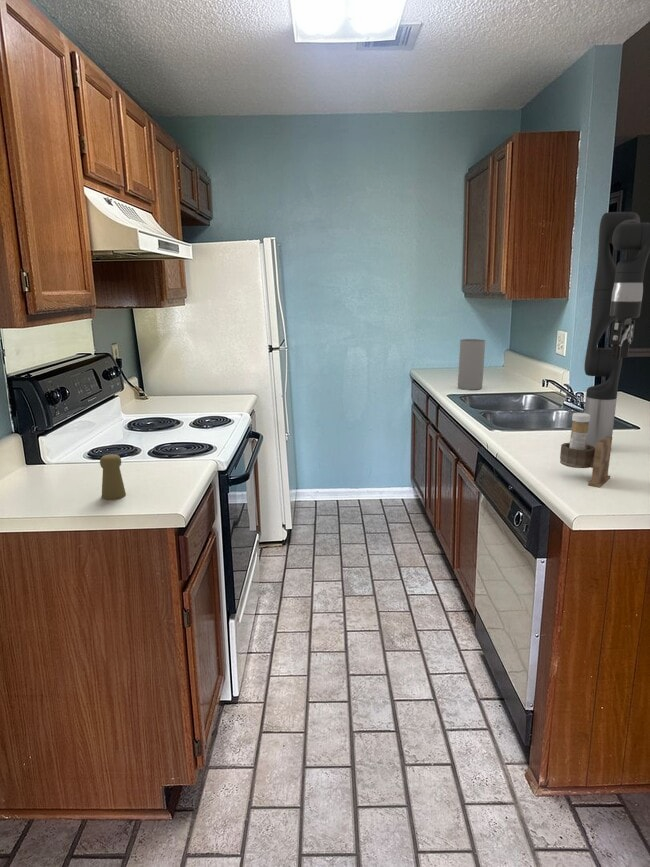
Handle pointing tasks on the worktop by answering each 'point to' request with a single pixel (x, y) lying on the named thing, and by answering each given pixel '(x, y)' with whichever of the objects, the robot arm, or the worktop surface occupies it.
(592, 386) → the robot arm
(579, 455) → the bracket
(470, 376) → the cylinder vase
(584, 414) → the sprinkles bottle
